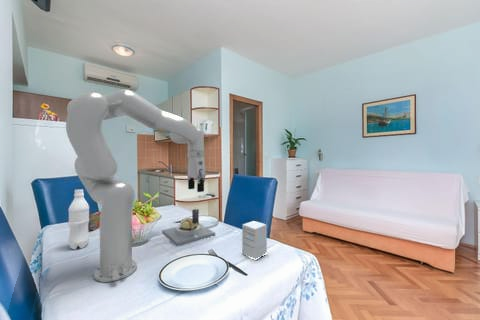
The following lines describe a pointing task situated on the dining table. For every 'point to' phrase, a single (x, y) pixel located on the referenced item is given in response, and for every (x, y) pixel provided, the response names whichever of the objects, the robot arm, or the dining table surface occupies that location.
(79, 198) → the water bottle
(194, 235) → the base plate
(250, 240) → the supplement box
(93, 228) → the tin
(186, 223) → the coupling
